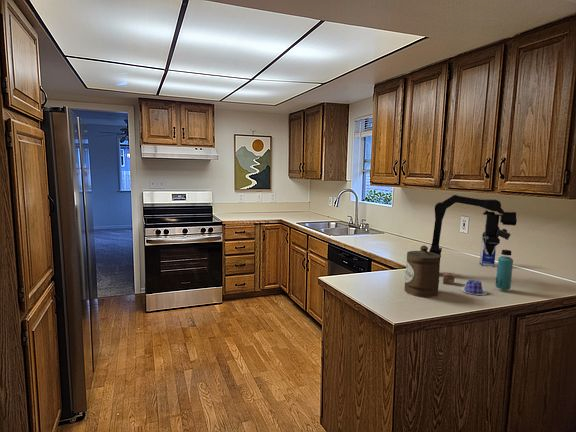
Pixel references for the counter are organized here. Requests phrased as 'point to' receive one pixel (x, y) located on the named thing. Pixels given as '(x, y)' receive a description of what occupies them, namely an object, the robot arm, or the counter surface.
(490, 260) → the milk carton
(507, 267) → the beverage bottle
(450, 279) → the walnut block
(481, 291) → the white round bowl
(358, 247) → the counter surface
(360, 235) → the counter surface
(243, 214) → the counter surface
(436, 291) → the wooden container
